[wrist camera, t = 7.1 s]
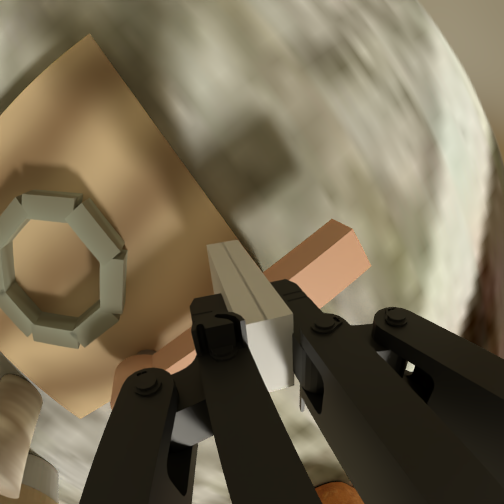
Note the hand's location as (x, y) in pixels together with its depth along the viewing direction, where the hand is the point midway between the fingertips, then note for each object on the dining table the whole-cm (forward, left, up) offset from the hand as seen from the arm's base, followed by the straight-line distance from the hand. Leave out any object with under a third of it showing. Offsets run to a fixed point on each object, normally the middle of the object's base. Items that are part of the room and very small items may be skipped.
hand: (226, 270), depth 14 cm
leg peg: (0, -22, -5) cm, 22 cm away
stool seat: (-5, -8, -5) cm, 10 cm away
